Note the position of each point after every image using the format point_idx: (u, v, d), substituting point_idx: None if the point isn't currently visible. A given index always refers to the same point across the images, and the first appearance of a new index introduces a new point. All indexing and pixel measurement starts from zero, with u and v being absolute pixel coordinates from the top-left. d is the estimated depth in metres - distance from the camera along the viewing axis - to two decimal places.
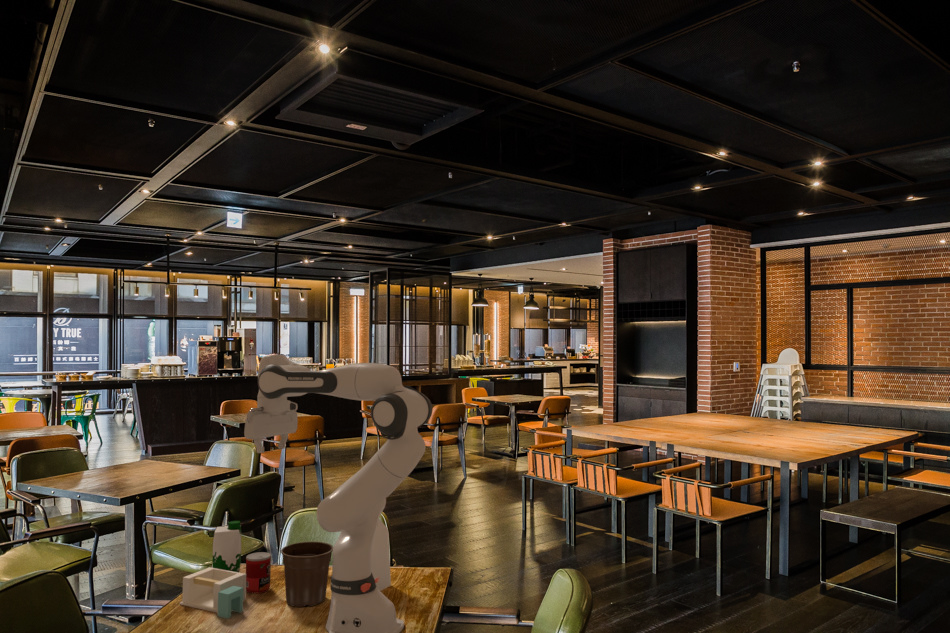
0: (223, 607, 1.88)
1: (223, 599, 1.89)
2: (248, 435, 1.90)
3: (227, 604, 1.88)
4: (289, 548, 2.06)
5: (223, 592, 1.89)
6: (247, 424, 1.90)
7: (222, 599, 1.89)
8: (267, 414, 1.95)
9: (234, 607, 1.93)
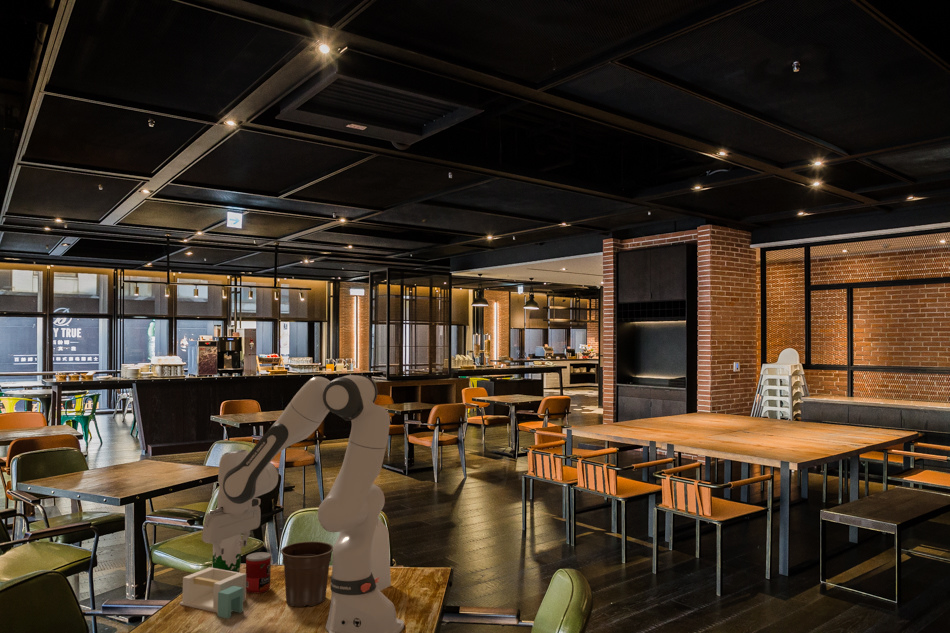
0: (223, 607, 1.88)
1: (223, 599, 1.89)
2: (206, 539, 1.83)
3: (227, 604, 1.88)
4: (290, 548, 2.06)
5: (223, 592, 1.89)
6: (205, 527, 1.84)
7: (222, 599, 1.89)
8: (227, 515, 1.89)
9: (234, 607, 1.93)
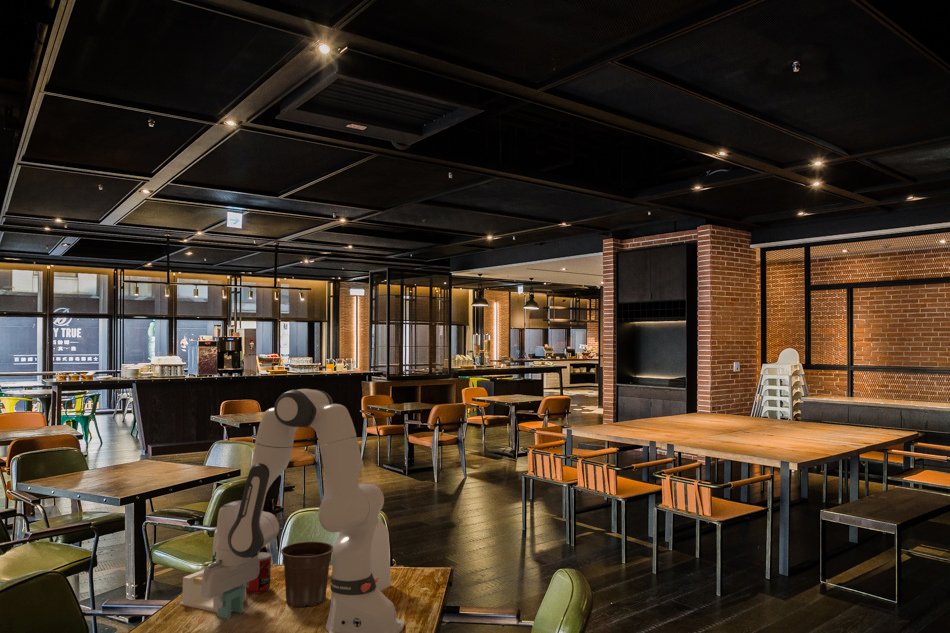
0: (223, 607, 1.88)
1: (223, 599, 1.89)
2: (205, 594, 1.82)
3: (227, 604, 1.88)
4: (290, 548, 2.06)
5: None
6: (204, 582, 1.83)
7: (222, 599, 1.89)
8: (226, 568, 1.88)
9: (234, 607, 1.93)
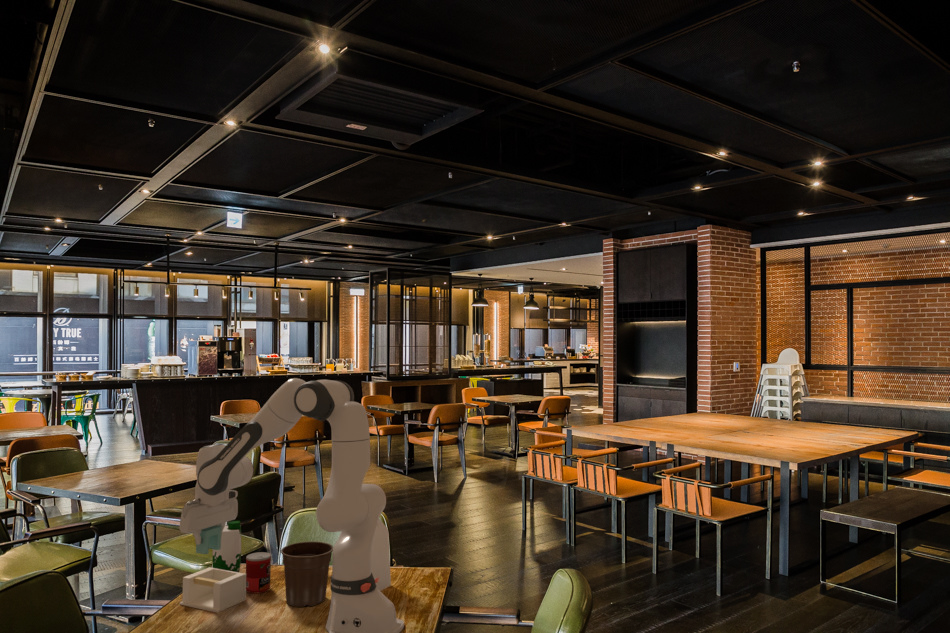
0: (202, 544, 1.97)
1: (201, 536, 1.97)
2: (183, 529, 1.91)
3: (205, 541, 1.96)
4: (290, 548, 2.06)
5: None
6: (182, 518, 1.91)
7: None
8: (204, 506, 1.96)
9: (212, 545, 2.01)
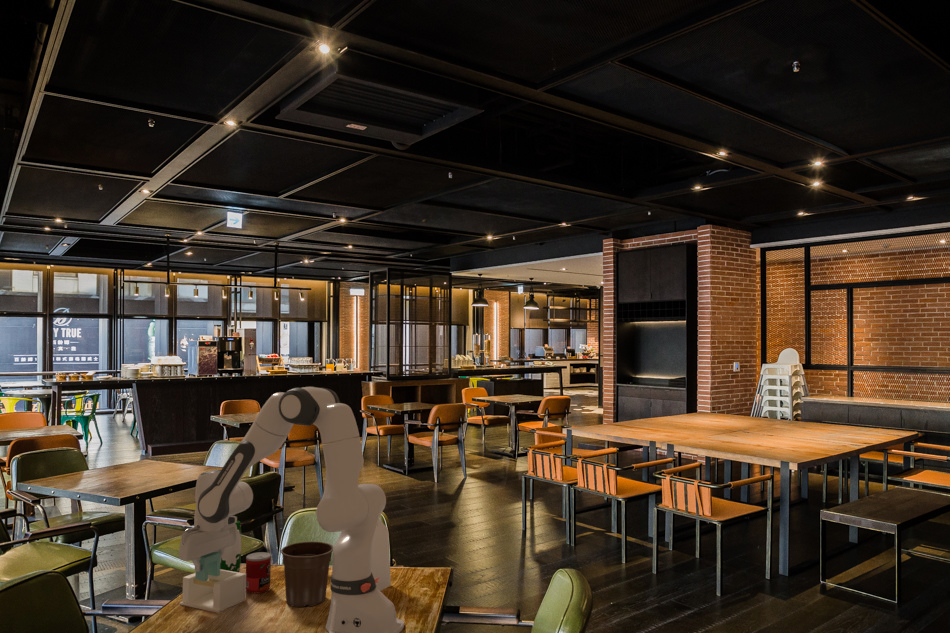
0: (201, 570, 1.96)
1: (200, 563, 1.96)
2: (183, 557, 1.90)
3: (204, 567, 1.96)
4: (290, 548, 2.06)
5: (201, 556, 1.97)
6: (181, 545, 1.91)
7: None
8: (203, 533, 1.96)
9: (212, 572, 2.01)
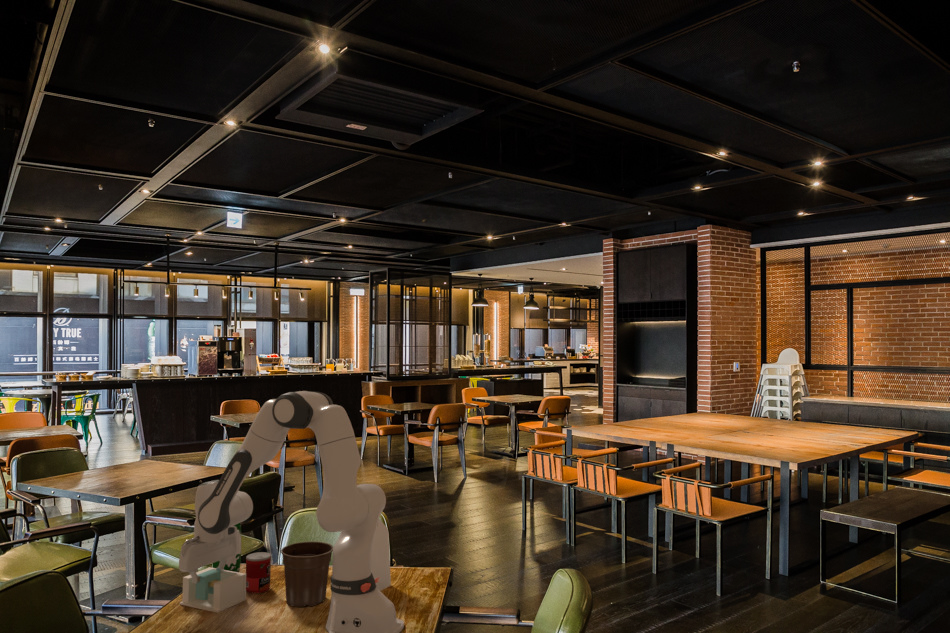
0: (201, 589, 1.96)
1: (200, 582, 1.96)
2: (182, 568, 1.90)
3: (204, 586, 1.95)
4: (290, 548, 2.06)
5: (201, 575, 1.97)
6: (181, 557, 1.91)
7: (200, 582, 1.96)
8: (203, 544, 1.95)
9: (212, 590, 2.00)
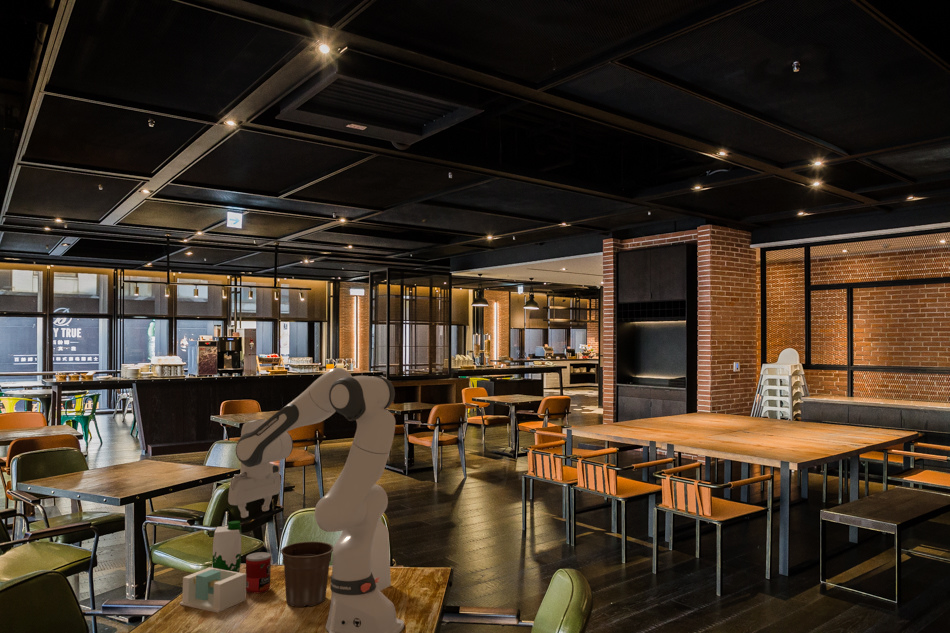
0: (201, 589, 1.96)
1: (200, 582, 1.96)
2: (232, 501, 1.95)
3: (204, 586, 1.95)
4: (290, 548, 2.06)
5: (201, 575, 1.97)
6: (231, 490, 1.96)
7: (200, 582, 1.96)
8: (250, 479, 2.01)
9: (212, 590, 2.00)
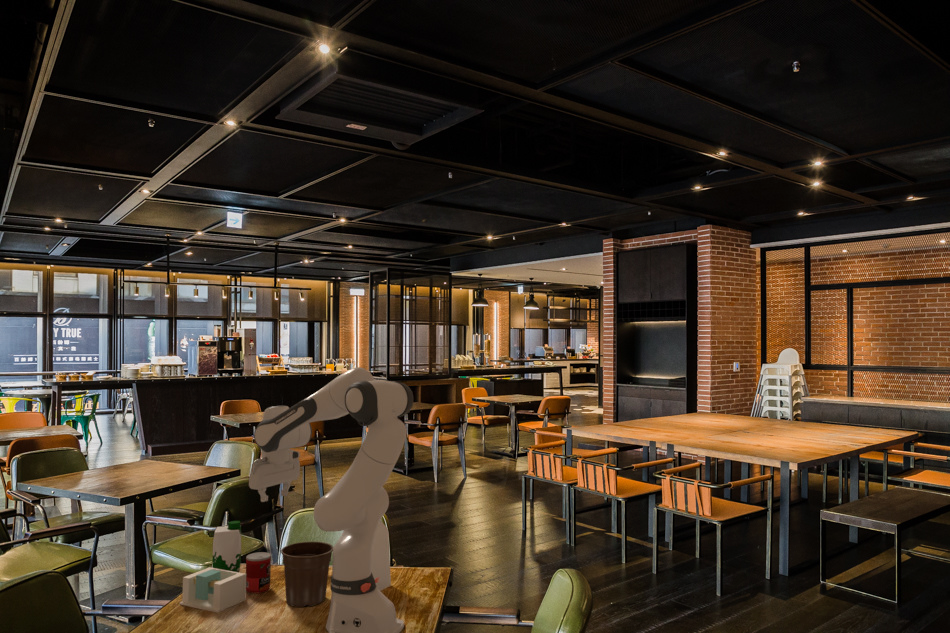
0: (201, 589, 1.96)
1: (200, 582, 1.96)
2: (253, 485, 1.98)
3: (204, 586, 1.95)
4: (290, 548, 2.06)
5: (201, 575, 1.97)
6: (252, 475, 1.99)
7: (200, 582, 1.96)
8: (271, 464, 2.03)
9: (212, 590, 2.00)
